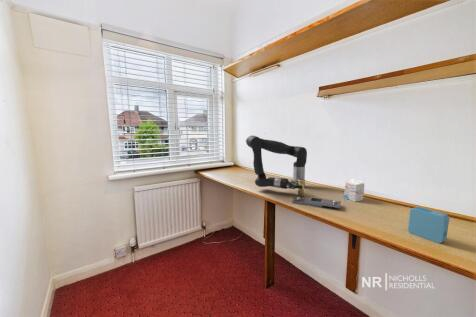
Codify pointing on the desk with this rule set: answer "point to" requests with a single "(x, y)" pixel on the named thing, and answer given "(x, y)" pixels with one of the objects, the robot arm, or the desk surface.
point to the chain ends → (317, 202)
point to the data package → (428, 224)
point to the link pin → (301, 191)
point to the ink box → (354, 190)
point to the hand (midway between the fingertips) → (303, 185)
